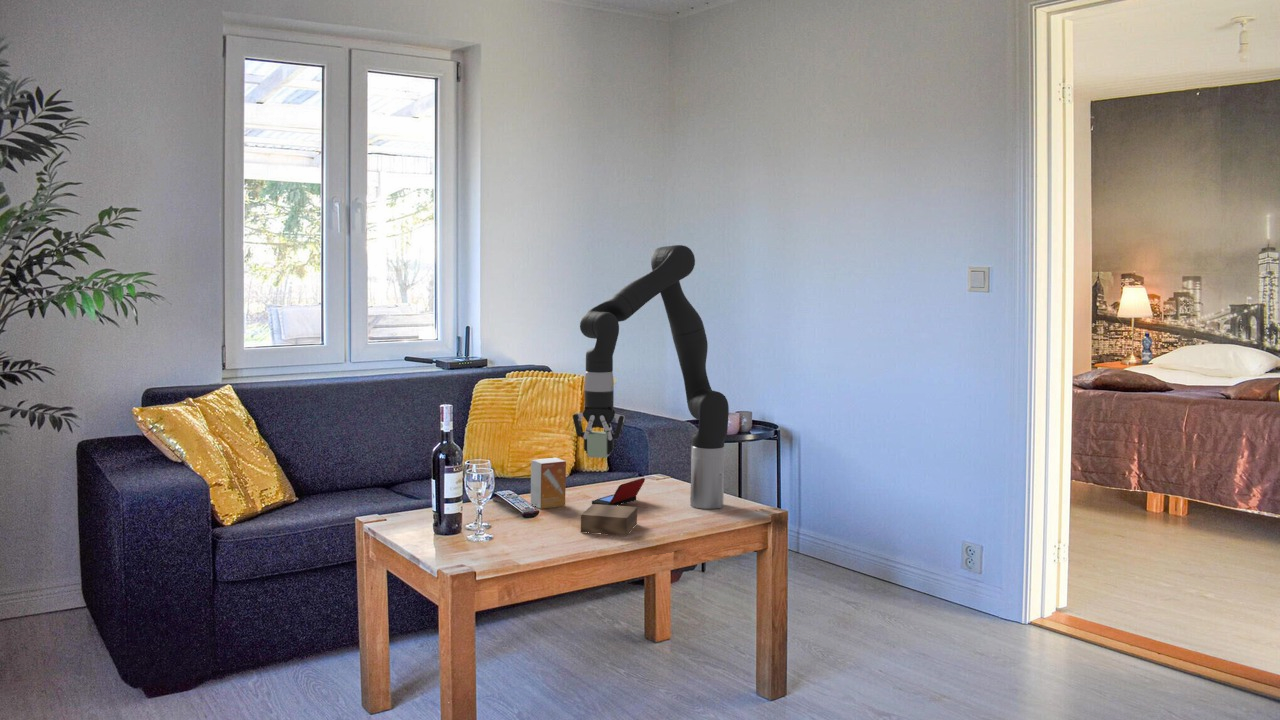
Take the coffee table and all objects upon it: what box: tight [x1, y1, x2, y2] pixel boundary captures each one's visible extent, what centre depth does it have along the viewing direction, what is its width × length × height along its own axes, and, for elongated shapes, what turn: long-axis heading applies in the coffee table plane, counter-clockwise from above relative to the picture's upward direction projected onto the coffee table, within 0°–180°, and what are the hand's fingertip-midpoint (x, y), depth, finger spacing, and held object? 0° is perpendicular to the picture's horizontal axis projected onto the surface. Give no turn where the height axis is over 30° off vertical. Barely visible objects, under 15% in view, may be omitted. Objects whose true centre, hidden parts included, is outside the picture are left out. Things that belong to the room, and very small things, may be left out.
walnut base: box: [580, 504, 638, 537], centre depth 258 cm, size 12×12×5 cm
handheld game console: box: [591, 477, 646, 506], centre depth 286 cm, size 12×11×7 cm
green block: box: [586, 430, 611, 459], centre depth 260 cm, size 5×5×6 cm
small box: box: [530, 456, 567, 510], centre depth 281 cm, size 8×6×13 cm
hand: (598, 453), depth 260 cm, fingers closed on green block, 5 cm apart
